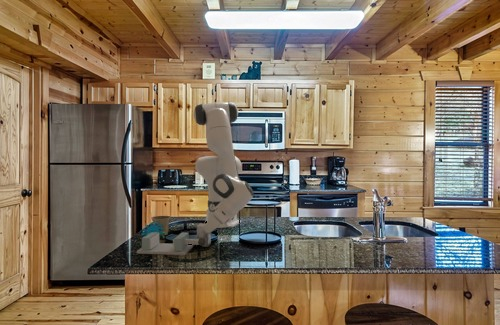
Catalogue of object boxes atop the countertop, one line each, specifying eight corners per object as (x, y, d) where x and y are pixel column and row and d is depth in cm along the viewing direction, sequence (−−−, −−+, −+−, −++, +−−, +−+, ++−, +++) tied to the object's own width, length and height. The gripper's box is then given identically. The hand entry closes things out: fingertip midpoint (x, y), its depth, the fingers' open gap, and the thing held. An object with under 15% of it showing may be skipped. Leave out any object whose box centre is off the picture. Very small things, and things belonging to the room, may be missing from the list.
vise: (193, 246, 141) (193, 232, 141) (184, 255, 129) (184, 240, 129) (149, 245, 143) (148, 231, 143) (136, 253, 131) (136, 238, 131)
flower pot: (150, 233, 164) (149, 216, 164) (168, 231, 168) (168, 214, 168) (152, 237, 156) (152, 219, 155) (172, 235, 160) (172, 218, 159)
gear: (137, 237, 149) (147, 219, 156) (141, 243, 154) (150, 226, 160) (159, 242, 147) (168, 223, 154) (162, 248, 152) (170, 230, 158)
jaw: (208, 244, 139) (208, 233, 139) (202, 251, 129) (202, 239, 129) (180, 243, 140) (180, 232, 140) (172, 250, 130) (172, 238, 130)
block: (210, 243, 146) (210, 223, 145) (208, 246, 141) (208, 226, 140) (199, 243, 146) (199, 223, 146) (196, 246, 141) (196, 225, 141)
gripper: (223, 203, 153) (203, 223, 154) (214, 211, 132) (191, 234, 133) (232, 213, 152) (212, 233, 153) (225, 222, 132) (201, 245, 133)
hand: (202, 233), depth 143 cm, fingers open, 6 cm apart
